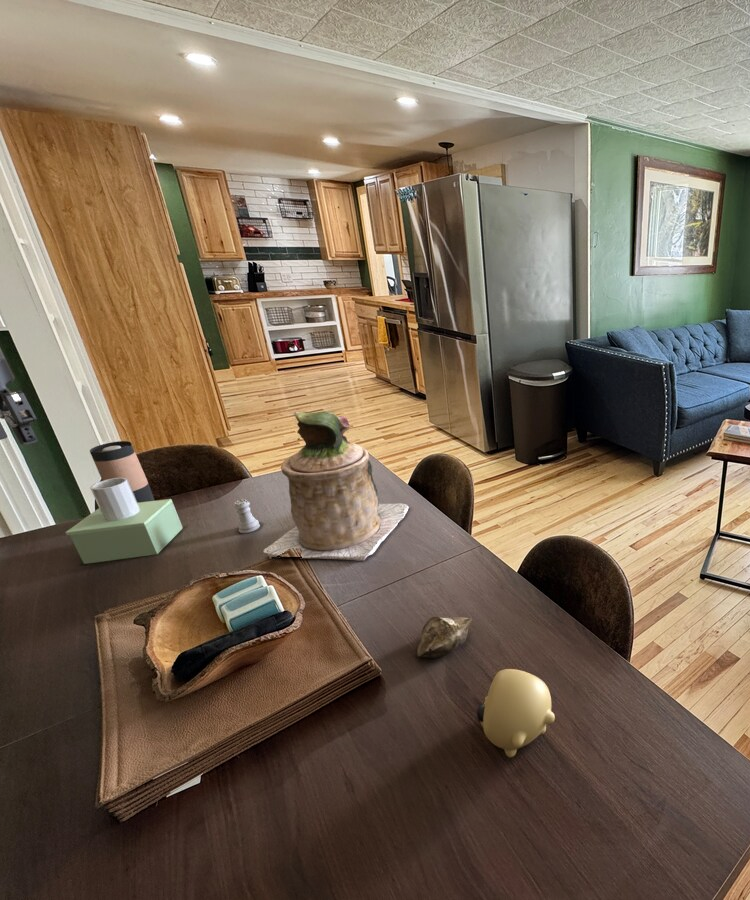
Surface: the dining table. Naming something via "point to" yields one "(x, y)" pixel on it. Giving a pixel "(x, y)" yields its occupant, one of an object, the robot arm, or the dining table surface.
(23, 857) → the dining table surface
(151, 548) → the container
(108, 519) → the cup
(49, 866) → the dining table surface
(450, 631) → the fossilized seashell
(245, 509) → the rook chess piece
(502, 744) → the toy pig
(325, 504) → the cookie jar
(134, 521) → the container lid
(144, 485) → the travel mug
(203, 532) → the dining table surface
